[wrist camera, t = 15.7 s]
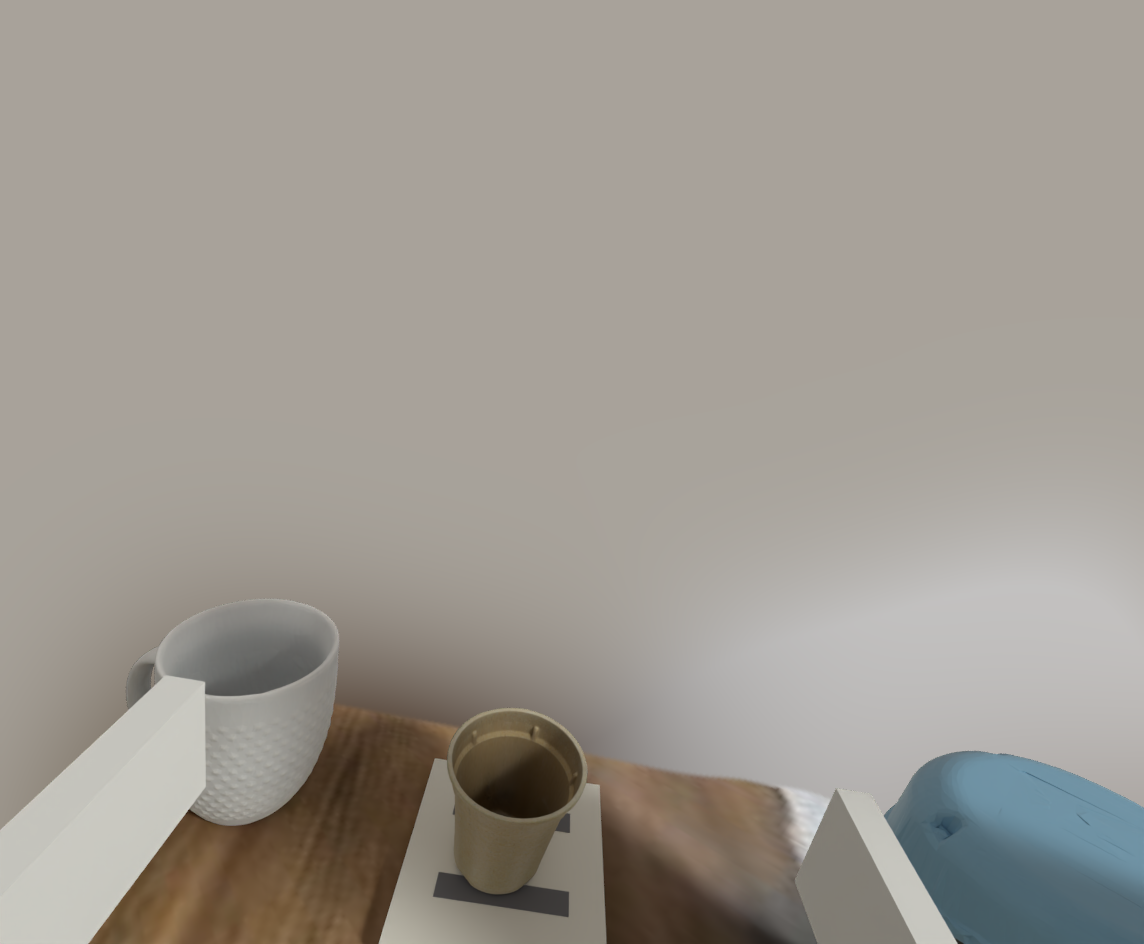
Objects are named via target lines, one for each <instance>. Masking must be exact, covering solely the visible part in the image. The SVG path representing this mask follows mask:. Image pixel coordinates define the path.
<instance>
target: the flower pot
mask: <svg viewBox="0 0 1144 944" xmlns="http://www.w3.org/2000/svg"><path fill="white" fill-rule="evenodd" d="M447 769H448V775H449V778H450V781H451V783H452V787H453V791H454V794H455V835H454V858H455V863H456V866H457V868H458V869H459V870H460V871H461V873H462V874H463V875H464V877H465V878H466V879H467V880H468V882H469V883H470V884H471V885H472V886H473V887H474V888H476V889H478V890H480V891H482V892H485V893H489V894H507V893H511V892H514V891H517V890H518V889H520V888H521V887H522V886H523V885H524V884H526V883H527V882H528V881H529V880H530V879H531V878H532V877H533V876H534V875H535V873H536V872H537V869H538V867H539V864H540V862H541V860H542V858H543V856H544V854H545V851H546V849H547V847H548V845H549V843H550V841H551V839H552V837H553V834H554V832H555V830H556V828H557V826H558V824H559V822H560V820H561V819H562V818H563V817H564V816H565V814H566V813H567V812H568V811H570V810H571V809H572V808H573V807H574V806H575V804H576V803H577V802H578V800H579V799H580V797H581V795H582V793H583V790H584V788H585V785H586V781H587V763H586V759H585V756H584V753H583V751H582V749H581V747H580V745H579V744H578V742H577V741H576V739H575V738H574V737H573V735H571V733H570V732H569V731H568V730H567V729H566V728H564V727H563V726H562V725H560V724H559V723H558V722H556V721H554V720H553V719H551V718H549V717H547V716H546V715H543V714H541V713H537V712H535V711H531V710H527V709H521V708H499V709H495V710H490V711H486V712H483V713H480V714H478V715H476V716H474V717H472V718H471V719H469V720H468V721H467V722H465V723H464V724H463V725H462V726H461V727H460V728H459V729H458V730H457V732H456V733H455V735H454V736H453V738H452V740H451V743H450V746H449V749H448V754H447Z"/></svg>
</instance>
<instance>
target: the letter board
mask: <svg viewBox="0 0 1144 944" xmlns="http://www.w3.org/2000/svg"><path fill="white" fill-rule="evenodd" d="M454 835H455V794H454V791H453V787H452V783H451V781H450V778H449V775H448V769H447V760H443V759H437V758H435V760H434V763H433V766H432V770H431V773H430V776H429V779H428V783H427V786H426V789H425V793H424V796H423V799H422V802H421V806H420V809H419V812H418V816H417V819H416V822H415V825H414V829H413V832H412V835H411V839H410V842H409V845H408V848H407V852H406V855H405V858H404V862H403V865H402V868H401V871H400V875H399V878H398V881H397V885H396V888H395V891H394V894H393V898H392V901H391V904H390V908H389V911H388V914H387V917H386V921H385V924H384V927H383V931H382V934H381V937H380V940H379V944H607V942H606V920H605V897H604V875H603V852H602V829H601V807H600V785H595V784H589V783H586V785H585V788H584V790H583V793H582V795H581V797H580V799H579V800H578V802H577V803H576V804H575V806H574V807H573V808H572V809H571V810H570V811H568V812H567V813H566V814H565V816H564V817H563V818H562V819H561V820H560V822H559V824H558V826H557V828H556V830H555V832H554V834H553V837H552V839H551V841H550V843H549V845H548V847H547V849H546V851H545V854H544V856H543V858H542V860H541V862H540V864H539V867H538V869H537V872H536V873H535V875H534V876H533V877H532V878H531V879H530V880H529V881H528V882H527V883H526V884H524V885H523V886H522V887H521V888H520V889H518V890H517V891H514V892H511V893H507V894H489V893H485V892H482V891H480V890H478V889H476V888H474V887H473V886H472V885H471V884H470V883H469V882H468V880H467V879H466V878H465V877H464V875H463V874H462V873H461V871H460V870H459V869H458V868H457V866H456V863H455V858H454Z"/></svg>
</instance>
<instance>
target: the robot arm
mask: <svg viewBox="0 0 1144 944" xmlns="http://www.w3.org/2000/svg"><path fill="white" fill-rule="evenodd" d="M205 787H206V761H205V682H203V681H197V680H191V679H185V678H180V677H174V676H168V675H165V676H164V677H163V678H162V679H161V680H160V681H159V682H158V683H157V684H156V685H155V686H154V687H153V688H151V689H150V690H149V691H148V692H147V693H146V694H145V695H144V696H143V697H142V698H141V699H140V700H139V701H138V702H137V703H135V704H134V705H133V706H132V707H131V708H130V709H129V710H128V711H127V712H126V713H125V714H124V715H123V716H122V717H120V719H118V720H117V721H116V722H115V723H114V724H113V725H112V726H111V727H110V728H109V729H108V730H107V731H105V732H104V733H103V734H102V735H101V736H100V737H99V738H98V739H97V740H96V741H95V742H94V743H93V744H92V745H91V746H89V747H88V748H87V749H86V750H85V751H84V752H83V753H82V754H81V755H80V756H79V757H78V758H77V759H76V760H74V762H72V763H71V764H70V765H69V766H68V767H67V768H66V769H65V770H64V771H63V772H62V773H61V774H59V775H58V776H57V777H56V778H55V779H54V780H53V781H52V782H51V783H50V784H49V785H48V786H47V787H46V788H45V789H43V790H42V791H41V792H40V793H39V794H38V795H37V796H36V797H35V798H34V799H33V800H32V801H31V802H30V803H29V804H27V805H26V806H25V807H24V808H23V809H22V810H21V811H20V812H19V813H18V814H17V815H16V816H15V817H14V818H12V819H11V820H10V821H9V822H8V823H7V824H6V825H5V826H4V827H3V828H2V829H1V830H0V944H88V943H89V942H90V941H91V939H92V938H93V937H94V935H95V934H96V933H97V931H98V930H99V929H100V927H101V926H102V925H103V923H104V922H105V921H106V919H107V918H108V917H109V915H110V914H111V913H112V911H113V910H114V909H115V907H116V906H117V905H118V903H119V902H120V901H121V899H122V898H123V897H124V895H125V894H126V893H127V891H128V890H129V889H130V887H131V886H132V885H133V883H134V882H135V881H136V879H137V878H138V877H139V875H140V874H141V873H142V871H143V870H144V869H145V867H146V866H147V865H148V863H149V862H150V861H151V859H152V858H153V856H154V855H155V854H156V852H157V851H158V850H159V848H160V847H161V846H162V844H163V843H164V842H165V840H166V839H167V838H168V836H169V835H170V834H171V832H172V831H173V830H174V828H175V827H176V826H177V824H178V823H179V822H180V820H181V819H182V818H183V816H184V815H185V814H186V812H187V811H188V810H189V808H190V807H191V806H192V804H193V803H194V802H195V800H196V799H197V798H198V796H199V795H200V794H201V792H202V791H203V790H204V788H205ZM795 883H796V886H797V888H798V891H799V894H800V897H801V899H802V902H803V905H804V908H805V910H806V913H807V916H808V918H809V921H810V924H811V927H812V929H813V932H814V935H815V938H816V940H817V943H818V944H1144V808H1143V807H1141V806H1140V805H1138V804H1136V803H1134V802H1133V801H1131V800H1129V799H1127V798H1125V797H1123V796H1121V795H1119V794H1117V793H1115V792H1113V791H1111V790H1109V789H1107V788H1105V787H1103V786H1101V785H1098V784H1096V783H1094V782H1091V781H1089V780H1087V779H1085V778H1082V777H1080V776H1078V775H1075V774H1073V773H1070V772H1067V771H1065V770H1062V769H1060V768H1057V767H1053V766H1050V765H1047V764H1044V763H1041V762H1038V761H1034V760H1031V759H1026V758H1022V757H1018V756H1014V755H1009V754H992V753H987V752H981V751H962V752H955V753H950V754H946V755H943V756H940V757H937V758H935V759H933V760H931V761H929V762H928V763H926V764H925V765H923V766H922V767H921V768H920V769H919V770H918V771H917V772H916V773H915V774H914V776H913V777H912V779H911V781H910V782H909V784H908V785H907V787H906V789H905V790H904V792H903V793H902V795H901V797H900V798H899V800H898V802H897V803H896V804H895V805H894V806H893V807H891V808H890V809H889V810H888V811H887V812H886V814H885V815H884V816H883V814H882V812H881V811H880V809H879V807H878V805H877V804H876V802H875V800H874V798H873V797H872V795H871V794H869V793H863V792H857V791H851V790H845V789H838V788H836V790H835V792H834V794H833V797H832V799H831V801H830V803H829V805H828V807H827V810H826V812H825V814H824V816H823V819H822V821H821V823H820V825H819V827H818V830H817V832H816V834H815V836H814V839H813V841H812V843H811V845H810V847H809V850H808V852H807V854H806V856H805V859H804V861H803V863H802V865H801V868H800V870H799V872H798V874H797V876H796V879H795Z"/></svg>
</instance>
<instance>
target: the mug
mask: <svg viewBox="0 0 1144 944" xmlns="http://www.w3.org/2000/svg"><path fill="white" fill-rule="evenodd" d="M338 653H339V632H338V629H337V627H336V625H335V624H334V622H333V621H332V619H330V617H328V616H327V615H326V614H325V613H323V612H322V611H320V610H318V609H316V608H314V607H312V606H310V605H306V604H303V603H300V602H296V601H291V600H284V599H251V600H244V601H239V602H232V603H228V604H224V605H221V606H217V607H214V608H211V609H208V610H205V611H202V612H200V613H198V614H196V615H194V616H192V617H190V618H188V619H186V620H185V621H183V622H182V623H180V624H179V625H177V626H176V627H175V628H174V629H172V630H171V631H170V632H169V633H168V634H167V635H166V636H165V637H164V639H163V640H162V642H161V643H160V645H159V646H158V647H155V648H153V649H151V650H150V651H148V652H147V653H145V654H144V655H143V656H141V657H140V658H139V659H138V660H137V661H136V663H135V664H134V665H133V667H132V668H131V671H130V673H129V676H128V679H127V686H126V700H127V705H128V710H129V709H130V708H131V707H132V706H133V705H134V704H135V703H137V702H138V701H139V700H140V699H141V698H142V697H143V696H144V695H145V694H146V693H147V692H148V691H149V690H150V689H151V674H152V669H153V666H154V664H155V685H156V684H157V683H158V682H159V681H160V680H161V679H162V678H163V677H164V676H165V675H168V676H174V677H180V678H185V679H191V680H197V681H203V682H205V761H206V787H205V788H204V790H203V791H202V792H201V794H200V795H199V796H198V798H197V799H196V800H195V802H194V803H193V804H192V806H191V807H190V810H191V811H192V812H194V813H196V814H197V815H198V816H200V817H201V818H203V819H205V820H207V821H210V822H212V823H215V824H219V825H226V826H237V825H244V824H249V823H252V822H255V821H258V820H260V819H263V818H265V817H267V816H269V815H270V814H272V813H274V812H275V811H277V810H278V809H279V808H281V807H282V806H283V805H284V804H286V803H287V802H288V801H289V800H290V799H291V798H292V797H293V796H294V795H295V794H296V793H297V792H298V790H299V789H300V788H301V786H302V785H303V784H304V783H305V782H306V780H307V778H308V776H309V775H310V774H311V772H312V770H313V767H314V765H315V764H316V762H317V760H318V757H319V754H320V753H321V751H322V749H323V745H324V741H325V740H326V738H327V732H328V729H329V727H330V725H331V716H332V714H333V703H334V699H335V689H336V684H337V672H338Z"/></svg>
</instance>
